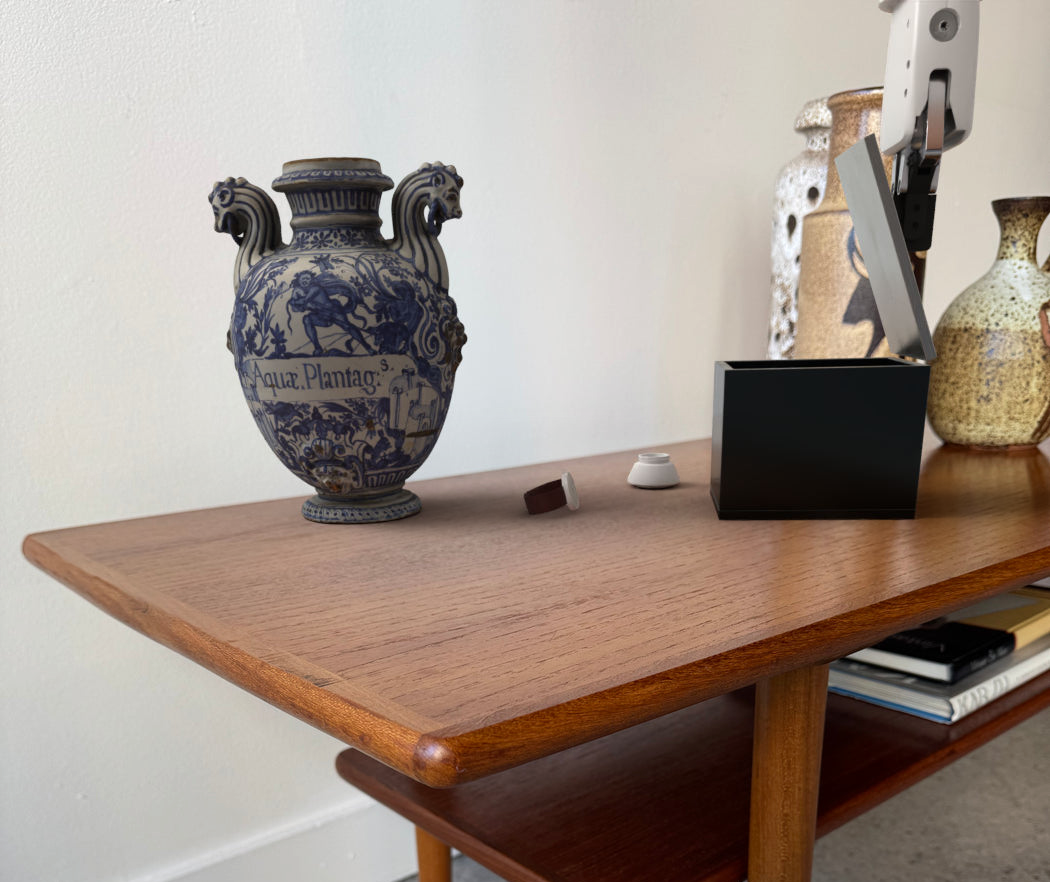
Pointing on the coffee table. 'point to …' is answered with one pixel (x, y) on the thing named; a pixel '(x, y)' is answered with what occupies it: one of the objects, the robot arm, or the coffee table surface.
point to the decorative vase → (345, 327)
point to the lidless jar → (653, 471)
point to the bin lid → (884, 250)
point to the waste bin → (817, 438)
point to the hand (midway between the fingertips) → (907, 250)
